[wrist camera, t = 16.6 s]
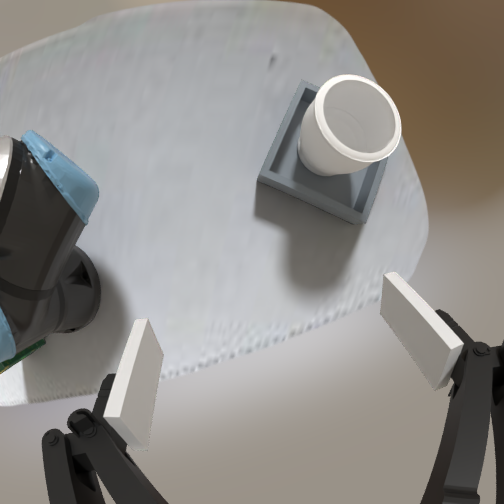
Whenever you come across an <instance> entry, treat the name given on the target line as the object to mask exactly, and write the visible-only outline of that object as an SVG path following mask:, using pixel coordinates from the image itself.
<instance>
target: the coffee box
mask: <svg viewBox="0 0 504 504" xmlns="http://www.w3.org/2000/svg"><path fill="white" fill-rule="evenodd" d="M45 343H46V342H45V340H44V338H43V339H41V340H39V341H38V342H36V343H34V344H32V345H31V346H29V347H27V348H26V349H24V350H22V351H21V352H19V353H17V354H16V355H15V356H14V357H13V358H11V359H8V360H5V361H3V362H0V374H1V373H3V372H4V371H6V370H7V369H9V368H10V367H12V366H13V365H15V364H16V363H18V362H19V361H21V360H22V359H24V358H26V357H27V356H29V355H30V354H32V353H33V352H34V351H36V350H37V349H38V348H40V347H41V346H43V345H44V344H45Z"/></svg>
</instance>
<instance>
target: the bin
mask: <svg viewBox="0 0 504 504" xmlns="http://www.w3.org/2000/svg"><path fill="white" fill-rule="evenodd" d="M319 89H320V87H317V86H315V85H313V84H311V83H308V82H306V81H304V80H301V82H300V84H299V86H298V88H297V90H296V93H295V95H294V97H293V99H292V101H291V103H290V106H289V108H288V110H287V112H286V114H285V117H284V119H283V121H282V123H281V126H280V128H279V130H278V132H277V134H276V137H275V139H274V141H273V143H272V146H271V148H270V150H269V152H268V155H267V157H266V159H265V162H264V164H263V166H262V168H261V171H260V173H259V176H258V178H257V181H259V182H261V183H264V184H266V185H268V186H271V187H273V188H275V189H278V190H280V191H282V192H284V193H287V194H289V195H291V196H293V197H296V198H298V199H300V200H302V201H305V202H307V203H309V204H311V205H313V206H315V207H318V208H320V209H322V210H324V211H326V212H328V213H330V214H332V215H335V216H337V217H339V218H341V219H343V220H345V221H347V222H349V223H351V224H365V223H366V221H367V218H368V216H369V213H370V210H371V207H372V204H373V202H374V199H375V196H376V193H377V190H378V187H379V184H380V181H381V178H382V175H383V172H384V169H385V166H386V163H387V159H388V156H387V157H386V158H384V159H382V160H379V161H376V162H373V163H372V164H370V165H369V166H367V167H366V168H364V169H362V170H359V171H357V172H353V173H348V174H337V175H333V176H320V175H317V174H314V173H313V172H311V171H310V170H308V169H307V168H306V167H305V166H304V164H303V163H302V161H301V160H300V157H299V154H298V149H297V144H298V139H299V137H300V131H301V125H302V120H303V117H304V115H305V112H306V110H307V109H308V107H309V106H310V104H311V103H312V102H313V101H314V99H315V97H316V94H317V92H318V91H319Z"/></svg>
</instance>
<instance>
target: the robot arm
mask: <svg viewBox="0 0 504 504" xmlns="http://www.w3.org/2000/svg"><path fill="white" fill-rule="evenodd" d="M21 139H22V140H21V141H18V140H16V139H14V138H12V137H10V136H7V135H4V136H2V137H0V362H3V361H5V360H8V359H11V358H13V357H14V356H15V355H16V354H17V353H19V352H21V351H22V350H24V349H26V348H27V347H29V346H31V345H32V344H34V343H36V342H38V341H39V340H41V339H43V338H44V337H46V336H48V335H49V334H51V333H72V332H75V331H78V330H80V329H81V328H83V327H85V326H86V325H87V324H89V323H90V322H91V321H92V319H93V318H94V317H95V315H96V313H97V310H98V307H99V304H100V294H101V292H100V282H99V278H98V274H97V272H96V269H95V267H94V265H93V263H92V261H91V260H90V258H89V257H88V256H87V255H86V253H85V252H84V251H82V250H81V249H80V248H79V247H77V246H75V244H76V242H77V240H78V238H79V236H80V234H81V232H82V231H83V229H84V227H85V225H87V224H88V218H89V216H90V214H91V212H92V210H93V209H94V207H95V205H96V203H97V201H98V198H99V188H98V186H97V184H96V182H95V181H94V180H93V179H92V178H91V177H90V176H89V175H88V174H87V173H85V172H84V171H83V170H82V169H81V168H80V167H78V166H77V165H76V164H75V163H74V162H73V161H71V160H70V159H69V158H68V157H67V156H65V155H64V154H63V153H62V152H60V151H59V150H58V149H57V148H55V147H54V146H53V145H52V144H51V143H49V142H48V141H47V140H45V139H44V138H43V137H41V136H40V135H39V134H37V133H35V132H34V131H33V130H29V131H27V132H26V133H25V134H24V135H22V137H21ZM380 314H381V315H382V317H383V318H384V320H385V321H386V322H387V324H388V325H389V326H390V328H391V329H392V330H393V332H394V333H395V335H396V336H397V337H398V339H399V340H400V342H401V343H402V344H403V346H404V347H405V349H406V350H407V351H408V353H409V354H410V355H411V357H412V358H413V360H414V361H415V363H416V364H417V366H418V367H419V368H420V370H421V371H422V373H423V374H424V376H425V377H426V379H427V380H428V382H429V383H430V385H431V386H432V388H433V389H434V391H436V390H438V389H440V388H443V387H445V386H447V384H448V382H449V380H450V378H452V379H453V381H454V384H453V386H452V388H451V390H450V392H449V394H448V396H450V395H451V398H450V403H449V409H448V413H447V418H446V423H445V427H444V431H443V435H442V439H441V443H440V447H439V450H438V454H437V457H436V460H435V464H434V467H433V470H432V473H431V476H430V479H429V482H428V484H427V487H426V490H425V493H424V495H423V498H422V500H421V503H420V504H479V503H480V496H479V495H478V494H477V488H478V484H479V480H480V476H481V471H482V466H483V461H484V456H485V450H486V445H487V438H488V430H489V422H490V412H491V418H492V425H493V432H494V444H495V455H496V456H495V457H496V484H497V485H496V504H504V341H503V343H502V346H496V347H489V346H488V345H487V344H485V343H483V342H474V341H473V340H472V339H471V338H470V337H469V336H468V334H467V333H466V332H465V331H464V330H463V329H462V328H461V327H460V326H458V324H457V323H456V322H455V321H454V320H453V319H452V318H451V317H450V315H449V314H447V313H446V312H444V311H442V310H440V309H439V310H436V311H434V310H433V309H432V308H431V307H430V306H429V305H428V304H427V303H426V302H425V301H424V300H423V299H422V298H421V297H420V296H419V295H418V294H417V293H416V292H415V291H414V290H413V289H412V288H411V287H410V286H409V285H408V284H407V283H406V282H405V281H404V280H403V279H402V278H401V277H400V276H399V275H398V274H397V273H396V272H391V273H387V274H384V275H383V288H382V299H381V310H380ZM163 356H164V354H163V352H162V350H161V348H160V345H159V343H158V341H157V338H156V336H155V334H154V331H153V329H152V327H151V324H150V322H149V319H148V318H145V319H137V320H135V322H134V325H133V328H132V330H131V333H130V336H129V339H128V341H127V344H126V347H125V350H124V353H123V356H122V359H121V361H120V364H119V367H118V370H117V373H116V374H108V375H107V377H106V378H105V379H104V380H103V382H102V385H101V387H100V391H99V393H98V398H97V399H96V402H95V405H94V408H93V411H92V413H91V412H90V411H89V410H88V409H78V410H76V411H74V412H73V413H72V414H71V415H70V416H69V418H68V421H67V425H68V428H69V429H70V430H71V431H72V432H73V433H69V434H65V435H64V434H63V433H62V432H61V431H60V430H58V429H51V430H49V431H47V432H46V433H45V434H44V436H43V438H42V452H43V461H44V469H45V478H46V484H47V490H48V496H49V501H50V504H105V501H104V498H103V495H102V492H101V488H100V485H99V482H98V478H97V475H96V472H97V474H98V476H99V477H100V479H101V481H102V482H103V484H104V486H105V487H106V489H107V490H108V492H109V494H110V495H111V497H112V498H113V500H114V501H115V503H116V504H168V502H167V501H166V500H165V499H164V498H163V497H162V496H161V495H160V493H159V492H158V491H157V490H156V489H155V488H154V486H153V485H152V484H151V483H150V481H149V480H148V479H147V478H146V477H145V475H144V474H143V473H142V472H141V470H140V469H139V468H138V466H137V465H136V464H135V462H134V461H133V459H132V458H131V457H130V455H129V454H128V453H127V452H126V447H127V445H128V446H129V447H130V448H131V449H132V450H138V451H139V450H140V451H148V445H149V438H150V431H151V424H152V418H153V411H154V406H155V399H156V394H157V388H158V382H159V377H160V372H161V366H162V361H163Z"/></svg>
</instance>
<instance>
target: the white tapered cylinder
mask: <svg viewBox="0 0 504 504" xmlns="http://www.w3.org/2000/svg"><path fill="white" fill-rule="evenodd" d="M400 136H401V120H400V116H399V113H398V110H397V108H396V106H395V104H394V102H393V100H392V99H391V97H390V96H389V95H388V94H387V93H386V92H385V91H384V90H383V89H382V88H381V87H380V86H379V85H377V84H376V83H375V82H373V81H371V80H369V79H367V78H365V77H362V76H358V75H352V74H344V75H338V76H335V77H333V78H331V79H329V80H328V81H326V82H325V83H324V84H323V85H322V87H321V88H320V89H319V91H318V92H317V94H316V97H315V99H314V101H313V102H312V103H311V104H310V106H309V107H308V109H307V110H306V112H305V115H304V117H303V120H302V125H301V131H300V137H299V139H298V144H297V149H298V154H299V157H300V160H301V161H302V163H303V164H304V166H305V167H306V168H307V169H308V170H310V171H311V172H313V173H314V174H317V175H320V176H333V175H337V174H348V173H353V172H357V171H359V170H362V169H364V168H366V167H367V166H369V165H370V164H372V163H373V162H376V161H379V160H382V159H384V158H386V157H387V156H389V155H390V154H391V153H392V152H393V151H394V150H395V148H396V147H397V145H398V143H399V140H400Z"/></svg>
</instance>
